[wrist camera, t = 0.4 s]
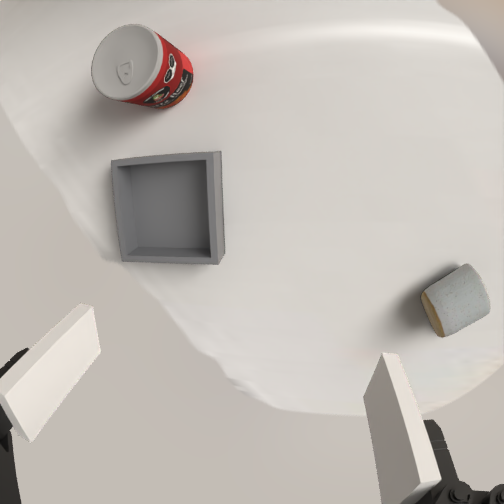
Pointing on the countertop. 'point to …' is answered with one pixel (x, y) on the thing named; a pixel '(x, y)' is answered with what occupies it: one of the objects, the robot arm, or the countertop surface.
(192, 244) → the tray
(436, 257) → the countertop surface
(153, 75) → the canned food
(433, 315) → the ceramic mug
